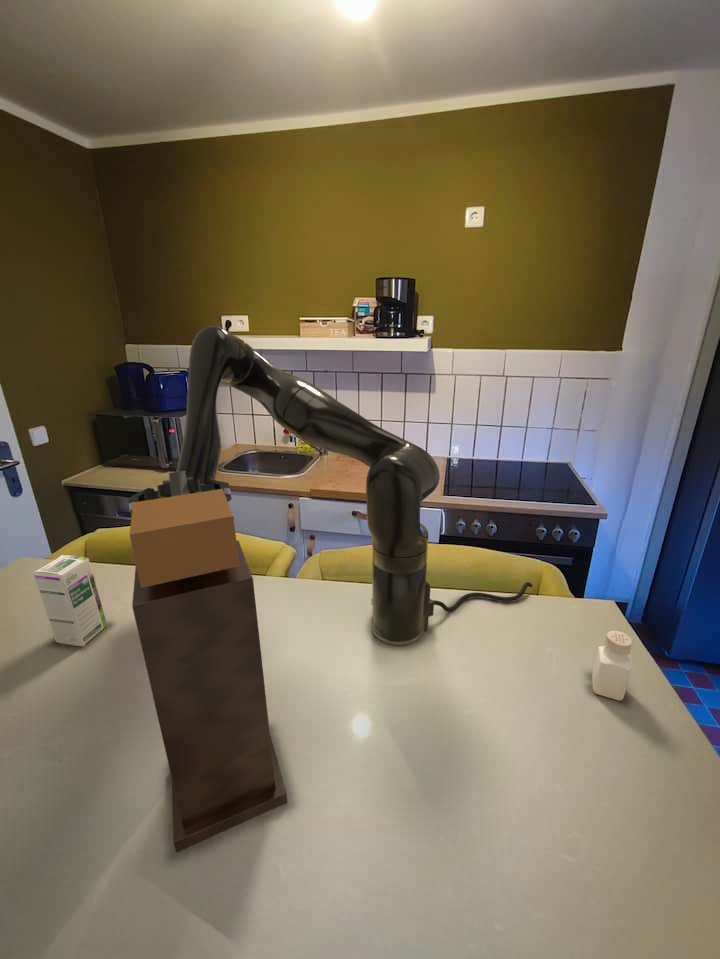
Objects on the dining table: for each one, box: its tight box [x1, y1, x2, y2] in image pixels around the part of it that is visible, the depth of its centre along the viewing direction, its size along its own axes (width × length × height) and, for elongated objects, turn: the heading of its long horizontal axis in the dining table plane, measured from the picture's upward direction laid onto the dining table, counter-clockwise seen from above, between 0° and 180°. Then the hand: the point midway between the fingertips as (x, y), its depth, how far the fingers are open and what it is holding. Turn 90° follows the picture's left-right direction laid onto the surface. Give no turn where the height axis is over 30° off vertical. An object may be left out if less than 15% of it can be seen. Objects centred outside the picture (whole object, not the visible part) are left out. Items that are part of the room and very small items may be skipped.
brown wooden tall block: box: [131, 539, 288, 853], centre depth 46 cm, size 12×10×30 cm
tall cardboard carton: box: [129, 471, 239, 588], centre depth 46 cm, size 8×24×5 cm, turn 24°
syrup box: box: [32, 554, 108, 648], centre depth 74 cm, size 6×6×14 cm
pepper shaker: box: [591, 630, 633, 701], centre depth 63 cm, size 4×4×10 cm
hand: (179, 487), depth 50 cm, fingers closed on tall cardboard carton
